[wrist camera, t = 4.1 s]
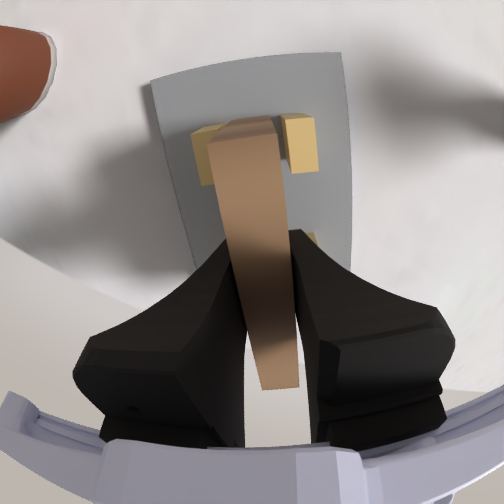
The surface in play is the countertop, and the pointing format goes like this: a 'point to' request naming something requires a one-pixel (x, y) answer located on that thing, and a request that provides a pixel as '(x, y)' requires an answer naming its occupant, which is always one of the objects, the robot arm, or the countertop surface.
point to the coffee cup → (24, 70)
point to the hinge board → (289, 139)
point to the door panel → (258, 242)
